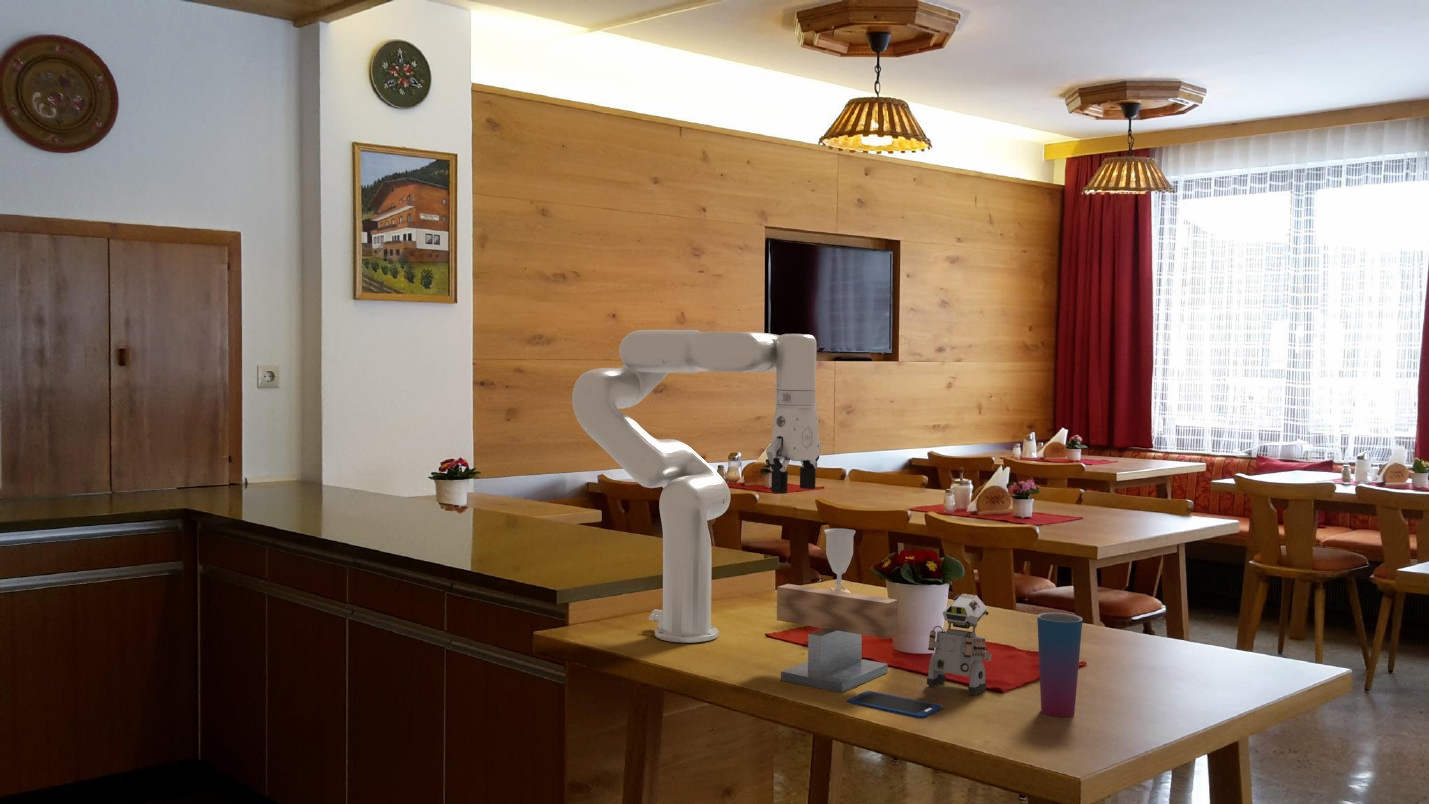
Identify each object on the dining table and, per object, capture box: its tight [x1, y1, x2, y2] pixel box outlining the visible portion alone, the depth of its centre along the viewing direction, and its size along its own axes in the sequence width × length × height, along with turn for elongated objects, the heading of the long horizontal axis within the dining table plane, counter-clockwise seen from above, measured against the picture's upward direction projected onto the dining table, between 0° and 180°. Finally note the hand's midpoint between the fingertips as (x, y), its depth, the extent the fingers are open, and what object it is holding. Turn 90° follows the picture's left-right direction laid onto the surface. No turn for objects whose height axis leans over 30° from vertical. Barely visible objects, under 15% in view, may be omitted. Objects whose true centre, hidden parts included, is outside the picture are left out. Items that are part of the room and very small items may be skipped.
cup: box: [1036, 612, 1083, 718], centre depth 183 cm, size 7×7×15 cm
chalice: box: [823, 528, 857, 587], centre depth 252 cm, size 7×7×18 cm
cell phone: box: [846, 690, 943, 719], centre depth 186 cm, size 7×14×1 cm, turn 53°
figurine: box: [926, 593, 993, 697], centre depth 197 cm, size 9×12×15 cm
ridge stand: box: [780, 628, 889, 694], centre depth 202 cm, size 12×16×8 cm
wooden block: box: [776, 583, 899, 640], centre depth 202 cm, size 22×4×6 cm, turn 54°
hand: (793, 490), depth 220 cm, fingers open, 9 cm apart
